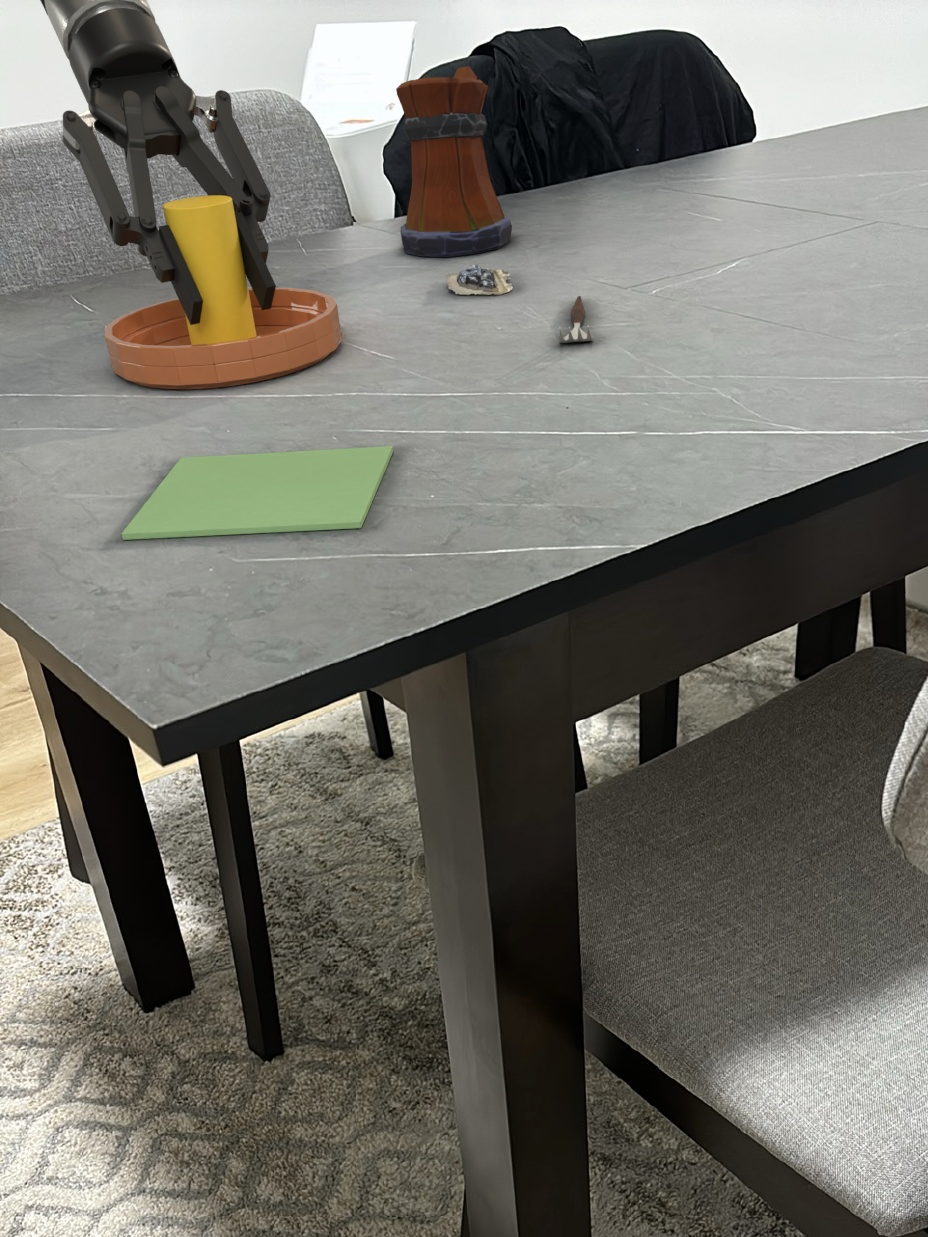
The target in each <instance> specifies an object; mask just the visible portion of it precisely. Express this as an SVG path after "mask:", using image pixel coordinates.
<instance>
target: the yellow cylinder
mask: <svg viewBox="0 0 928 1237" xmlns="http://www.w3.org/2000/svg"><path fill="white" fill-rule="evenodd" d="M162 209H163V216H164V219H165V225H169V227H170V229H171V231H172V233H173V235H174V237H175V240H176V242H177V244H178V246H179V248H180V251H181V253H182V255H183V257H184V259H185V262H186V264H187V266H188V268H189V270H190V273H191V275H192V277H193V279H194V281H195V283H196V286H197V288H198V290H199V292H200V294H201V297H202V299H203V305H202V312H201V319H200V323H198V324H193V325H190V323H189V321H188V318H187V316H186V314H185V316H186V321H187V326H188V331H189V335H190V340H191V345H199V344H213V343H220V342H227V341H234V340H241V339H248V338H252V337H257V335H256V330H255V324H254V319H253V313H252V307H251V302H250V296H249V291H248V288H249V285H248V279H247V276H246V274H245V268H244V263H243V257H242V252H241V246H240V240H239V235H238V229H237V224H236V218H235V212H234V207H233V201H232V198H231V197H229V196H222V195H210V196H208V195H201V196H200V195H199V196H189V197H184V198H178V199H174V200H171V201H168V202H166V203H164V204H162Z"/></svg>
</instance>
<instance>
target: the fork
mask: <svg viewBox="0 0 928 1237" xmlns="http://www.w3.org/2000/svg"><path fill="white" fill-rule="evenodd" d="M570 317H571V321H572V323H573V326H574V327H573V328H572V329H571V327H570V326H568V334H566V335H565V336H564V335H563V331H562V328H561V326H559V327H558V329H559V330H558V331H559V333H558V334H559V335H558V336H559V337H558V338H559V341H558V342H559V343H560V344H567V343H568V344H569V343H583V342H593V341H594V338H593V336H592V332H591V329H590V325H589V324H587V326H586V327H587V328H586V329H587V331H586V332H585V331H584V330H583V329H581V325H582V323H583V321H584V319H585V317H586V309H585V306H584V304H583V300H582V296H581V295H578V296H577V297H576V299H575V302H574V304H573V306H572V308H571V311H570Z"/></svg>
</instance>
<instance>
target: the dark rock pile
mask: <svg viewBox="0 0 928 1237" xmlns="http://www.w3.org/2000/svg"><path fill="white" fill-rule="evenodd" d="M510 275H511V273H509V271H505V270H503V269H490V268H488V267H486V268H482V267H481V266H480V265H478V264H477V263H476V264H470V265H469V266H466V267H464V268H463V269H462V270H461V271H459V272H458V273H457V272H455V273H452V274H451V273H448V274H446V275H445V281H446V282H448V283H446V285H447V288H448V289H449V290H451V291H452V292H454V294H455V295H467V296H470V295H473V294H474V295H486V296H489V295H493V296H499V295H503V294H506V293H509V292H511V291H512V290H513V289H514V287H513V286H512V283H511V282H509V283H508V282H507V281H508V280H510V279H512V278H511V277H509V276H510Z"/></svg>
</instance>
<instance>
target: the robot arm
mask: <svg viewBox="0 0 928 1237" xmlns="http://www.w3.org/2000/svg"><path fill="white" fill-rule="evenodd" d="M39 1H40V3H41V4H42V7H43V9H44V12H45V13H46V15H47V18H48V19H49V21H50V23H51V26H52V28H53V30H54V32H55V34H56V37H57V39H58V41H59V43H60V45H61V47H62V50H63V52H64V54H65V57H66V58H67V60H69V66H70V68H71V70H72V73H73V75H74V78H75V79H76V82H77V83H78V86H79V89H80V90H81V93H82V94H83V97H84V99H85V102H86V104H87V106H88V109H87V110H85V111H83V112H81V113H79V114H78V113H77V112H75V111H73V110H65V111H64V112H63V113H62V143H63V145H64V146H65V147H66V149H67V150H68V151H70V153H71V154H72V155H73V156H74V157H75V158H76V160H77V161H78V162H79V164H80V166H81V169H82V171H83V173H84V176H85V178H86V180H87V183H88V185H89V188H90V190H91V193H92V195H93V198H94V200H95V202H96V204H97V207H98V209H99V211H100V214H101V216H102V218H103V220H104V224H105V225H106V227H107V230H108V233H109V235H110V237H111V239H112V242H113V243H114V244H115V245H116V246H119V247H126V246H127V245H129V244H135V245H137V250H138V252H139V254H140V255H142V256H143V257H146V258H147V260H148V262H149V264H150V267H151V269H152V270H153V273H154V275H155V277H156V279H157V280H158V281H159V282H160V283H161V284H165V283H169V282H170V283H171V285H172V288H173V290H174V292H175V294H176V297H177V298H178V299H179V301H180V303H181V305H182V307H183V310H184V312H185V314H186V316H187V318H188V321H189V323H190V325H193V324H198V323H200V319H201V312H202V305H203V299H202V297H201V294H200V292H199V290H198V288H197V286H196V283H195V281H194V279H193V277H192V275H191V273H190V270H189V268H188V266H187V264H186V262H185V259H184V257H183V255H182V253H181V251H180V248H179V246H178V244H177V242H176V240H175V237H174V235H173V233H172V231H171V229H170V227H169V225H166V224H165V225H159V226H157V223H158V222H157V214H156V208H155V202H154V195H153V188H152V182H151V175H150V170H149V162H148V159H152V158H154V157H156V156H158V155H160V156H161V155H162V156H172V157H173V158H174V160H175V161H176V162H177V163H178V165H179V166H180V167H181V168H183V169H184V168H186V169H187V171H188V172H189V173H190V175H191V176H192V177H193V179H194V180H195V181H196V182H197V184H198V185H199V186H200V187H201V188H202V190H203V191H204V192H205V193H206V196H210V195H222V196H229V197H231V198H232V201H233V207H234V212H235V218H236V224H237V229H238V235H239V240H240V246H241V252H242V257H243V263H244V268H245V274H246V280H247V282H248V283H249V285H250V287H251V288H252V290H253V292H254V294H255V296H256V298H257V300H258V303H259V305H260V307H261V309H262V310H266V309H271V306H272V302H273V297H274V293H275V288H277V285H276V283H275V281H274V279H273V276H272V274H271V271H270V270H269V267H268V265H267V262H268V261H267V260H268V256H269V250H270V249H269V243H268V241H267V239H266V237H265V235H264V232H263V230H262V228H261V227H260V224H259V223H263V222H265V221H266V220H267V216H268V212H269V205H270V200H271V196H272V195H271V192H270V189H269V188H268V185H267V183H266V181H265V180H264V177H263V175H262V173H261V171H260V169H259V167H258V165H257V163H256V161H255V159H254V157H253V155H252V153H251V151H250V149H249V147H248V145H247V143H246V141H245V138H244V136H243V134H242V133H241V130H240V129H239V126H238V125H237V123H236V121H235V120H236V119H234V117H233V106H232V98H231V95H230V93H229V92H228V91H226V90H223V89H219V90H217V91H216V92H215V95H214V97H207V96H203V95H202V96H201V95H196V93H195V92H194V90H193V88H191V87H190V85H188V84H187V83H186V82H185V81H184V80H183V79H182V77H181V74H180V71H179V68H178V65H177V64H176V61H175V58H174V57H173V54H172V52H171V50H170V48H169V45H168V44H167V41H166V39H165V38H164V35H163V32H162V31H161V28H160V27H159V25H158V24H157V22H156V18H155V15H154V12H153V11H152V9H151V7H150V5H149V3H148V0H39ZM195 116H197V117H199V118H200V119H201V120H202V121H203V124H204V126H205V127H206V131H207V132H208V133H210V134H212V133H213V139H214V143H215V144H216V147H217V149H218V151H219V154H220V155H221V157H222V160H223V161H224V163H225V165H226V168H227V169H226V168H225V167H224V166H223V164H222V163H221V162H220V160H219V159H218V158H217V157H216V155H215V154H214V153H213V151H212V150H211V149H210V147H209V146H208V145H207V144H206V142H205V141H204V140H203V139H202V137H201V132H200V130H199V128H198V127H197V125H195V123H194V119H195ZM98 133H99V134H101V135H103V136H104V137H106V138H107V139H108V140H110V141H111V142H113V143H114V144H115V145H117V146H118V147H120V148H121V149H122V150H123V154H124V161H125V168H126V173H127V175H128V181H129V188H130V194H131V201H132V208H133V214H134V216H131V215H130V213H129V211H128V208H127V206H126V204H125V201H124V199H123V197H122V194H121V192H120V189H119V187H118V185H117V183H116V180H115V178H114V175H113V174H112V170H111V168H110V166H109V164H108V162H107V159H106V157H105V154H104V152H103V150H102V148H101V145H100V142H99V140H98ZM227 170H228V171H229V172H228V171H227Z"/></svg>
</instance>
